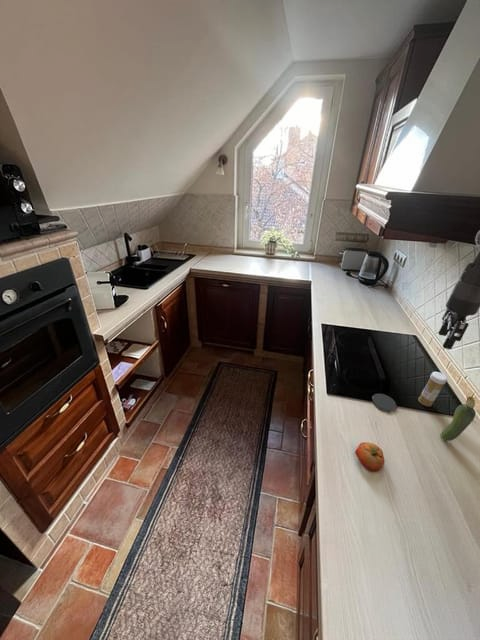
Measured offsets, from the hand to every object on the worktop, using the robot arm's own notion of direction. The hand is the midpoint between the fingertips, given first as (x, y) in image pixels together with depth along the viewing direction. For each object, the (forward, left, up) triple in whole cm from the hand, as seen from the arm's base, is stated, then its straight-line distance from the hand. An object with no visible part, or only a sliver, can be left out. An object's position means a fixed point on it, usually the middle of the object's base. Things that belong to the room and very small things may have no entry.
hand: (444, 341), depth 83 cm
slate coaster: (+13, +1, -27) cm, 30 cm away
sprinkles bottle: (-3, +1, -27) cm, 28 cm away
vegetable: (+1, +17, -27) cm, 32 cm away
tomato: (+29, +22, -27) cm, 45 cm away
